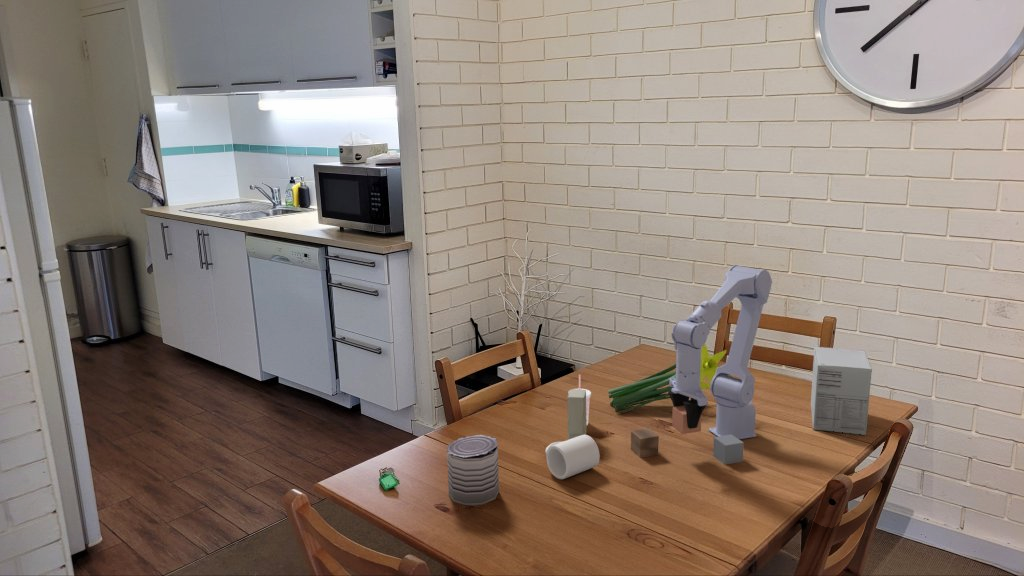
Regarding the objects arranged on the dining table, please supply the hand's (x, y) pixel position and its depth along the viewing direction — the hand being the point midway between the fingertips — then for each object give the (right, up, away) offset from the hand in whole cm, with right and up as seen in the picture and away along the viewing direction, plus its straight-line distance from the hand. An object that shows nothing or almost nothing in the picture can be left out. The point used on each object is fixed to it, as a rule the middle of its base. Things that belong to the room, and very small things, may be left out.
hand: (686, 423), depth 183 cm
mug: (-29, -10, -4) cm, 31 cm away
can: (-51, -13, -14) cm, 55 cm away
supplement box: (+45, -3, +21) cm, 50 cm away
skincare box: (-26, -6, +14) cm, 30 cm away
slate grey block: (+10, -9, 0) cm, 13 cm away
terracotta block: (0, -1, 0) cm, 1 cm away
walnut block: (-10, -8, +4) cm, 13 cm away
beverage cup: (-24, -4, +22) cm, 33 cm away
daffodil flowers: (+1, -2, +32) cm, 32 cm away
